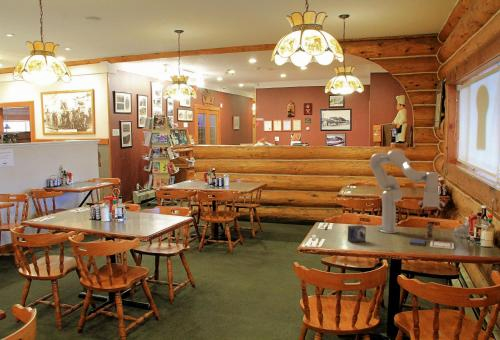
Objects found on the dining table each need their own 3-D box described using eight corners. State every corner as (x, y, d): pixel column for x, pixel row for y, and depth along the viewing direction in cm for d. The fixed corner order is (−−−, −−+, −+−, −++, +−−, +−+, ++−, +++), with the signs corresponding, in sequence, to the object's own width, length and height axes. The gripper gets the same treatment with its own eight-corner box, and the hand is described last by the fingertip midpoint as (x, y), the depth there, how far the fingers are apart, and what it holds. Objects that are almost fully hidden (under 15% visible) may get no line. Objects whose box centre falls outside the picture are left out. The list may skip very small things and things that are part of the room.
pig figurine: (474, 237, 297) (474, 222, 296) (457, 238, 296) (457, 223, 295) (469, 235, 302) (470, 221, 302) (452, 236, 301) (453, 221, 300)
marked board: (429, 246, 274) (430, 245, 274) (430, 241, 286) (430, 240, 286) (453, 249, 268) (453, 247, 268) (453, 244, 280) (453, 242, 280)
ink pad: (409, 244, 280) (409, 242, 280) (411, 240, 291) (411, 238, 291) (424, 245, 276) (424, 243, 276) (425, 241, 287) (425, 239, 287)
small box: (351, 243, 284) (351, 227, 283) (347, 240, 290) (347, 225, 289) (365, 242, 286) (366, 227, 285) (361, 239, 292) (361, 225, 291)
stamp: (424, 240, 290) (425, 223, 289) (425, 238, 295) (425, 222, 294) (434, 241, 287) (434, 224, 286) (434, 239, 293) (435, 222, 292)
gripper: (417, 190, 288) (417, 214, 290) (445, 191, 281) (444, 216, 282) (418, 188, 295) (417, 213, 296) (445, 189, 288) (445, 214, 289)
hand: (431, 214), depth 289 cm, fingers open, 9 cm apart
